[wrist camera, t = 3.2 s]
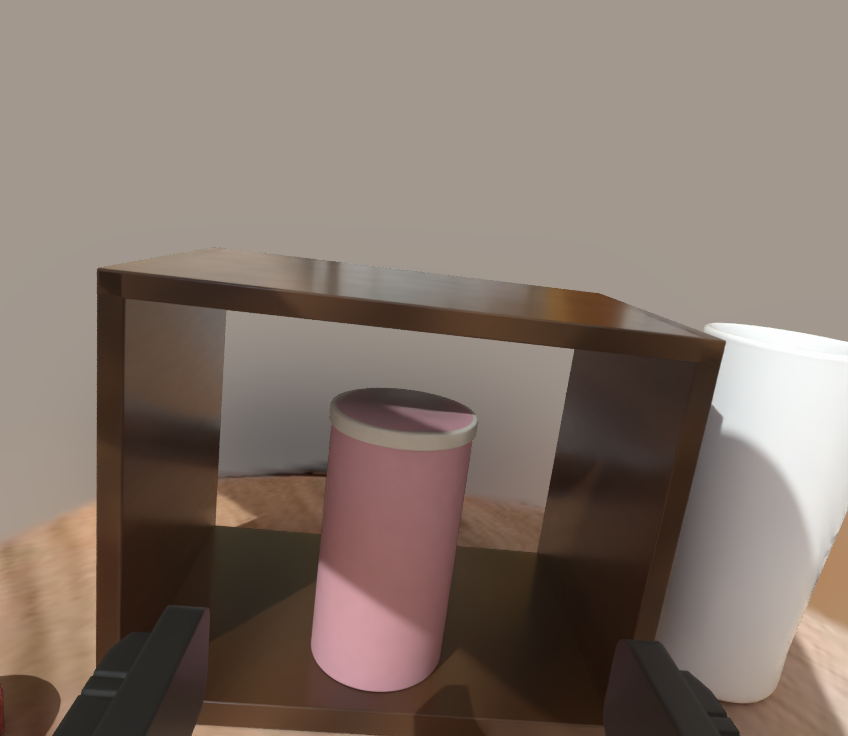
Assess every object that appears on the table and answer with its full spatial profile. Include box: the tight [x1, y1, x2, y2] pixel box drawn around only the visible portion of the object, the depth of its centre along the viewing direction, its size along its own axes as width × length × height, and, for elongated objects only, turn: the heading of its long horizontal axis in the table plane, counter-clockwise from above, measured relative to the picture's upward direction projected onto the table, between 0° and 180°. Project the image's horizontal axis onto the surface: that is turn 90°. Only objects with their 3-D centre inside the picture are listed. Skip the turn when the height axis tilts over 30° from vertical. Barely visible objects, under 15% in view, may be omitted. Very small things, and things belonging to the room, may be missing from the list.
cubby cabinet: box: [96, 247, 726, 736], centre depth 26 cm, size 19×12×15 cm, turn 93°
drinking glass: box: [655, 323, 848, 703], centre depth 26 cm, size 7×7×15 cm
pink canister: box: [311, 388, 478, 692], centre depth 24 cm, size 5×5×10 cm
